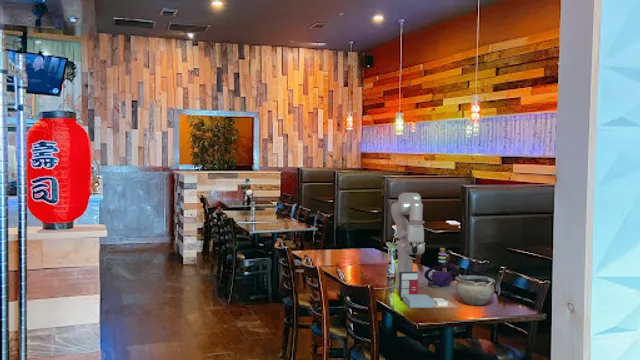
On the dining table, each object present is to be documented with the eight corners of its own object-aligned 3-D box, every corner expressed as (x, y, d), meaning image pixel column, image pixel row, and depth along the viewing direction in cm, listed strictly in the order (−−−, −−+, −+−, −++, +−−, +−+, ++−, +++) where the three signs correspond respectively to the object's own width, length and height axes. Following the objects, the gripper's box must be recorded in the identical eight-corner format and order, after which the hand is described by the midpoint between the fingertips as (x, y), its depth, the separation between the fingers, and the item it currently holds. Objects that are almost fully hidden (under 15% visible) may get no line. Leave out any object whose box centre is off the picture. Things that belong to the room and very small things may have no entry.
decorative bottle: (456, 283, 379) (457, 246, 378) (460, 290, 358) (462, 251, 358) (422, 281, 382) (424, 245, 381) (425, 288, 361) (426, 250, 360)
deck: (402, 301, 327) (403, 294, 326) (426, 301, 328) (426, 294, 328) (409, 307, 313) (410, 300, 313) (434, 307, 315) (434, 300, 314)
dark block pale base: (400, 298, 334) (401, 273, 334) (398, 296, 338) (399, 271, 338) (418, 297, 336) (418, 272, 336) (415, 295, 340) (416, 271, 340)
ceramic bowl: (466, 309, 312) (467, 282, 312) (448, 299, 333) (448, 274, 333) (501, 307, 318) (502, 281, 318) (481, 298, 339) (481, 273, 339)
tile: (442, 298, 327) (442, 301, 327) (432, 298, 326) (432, 301, 326) (447, 302, 318) (447, 305, 318) (437, 302, 317) (437, 305, 317)
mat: (427, 301, 328) (427, 300, 328) (448, 301, 330) (448, 300, 330) (434, 307, 315) (434, 306, 315) (457, 307, 316) (457, 306, 316)
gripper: (425, 222, 337) (424, 252, 338) (401, 221, 335) (400, 252, 336) (429, 223, 330) (428, 254, 331) (405, 223, 328) (404, 254, 329)
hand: (414, 253), depth 334 cm, fingers closed
